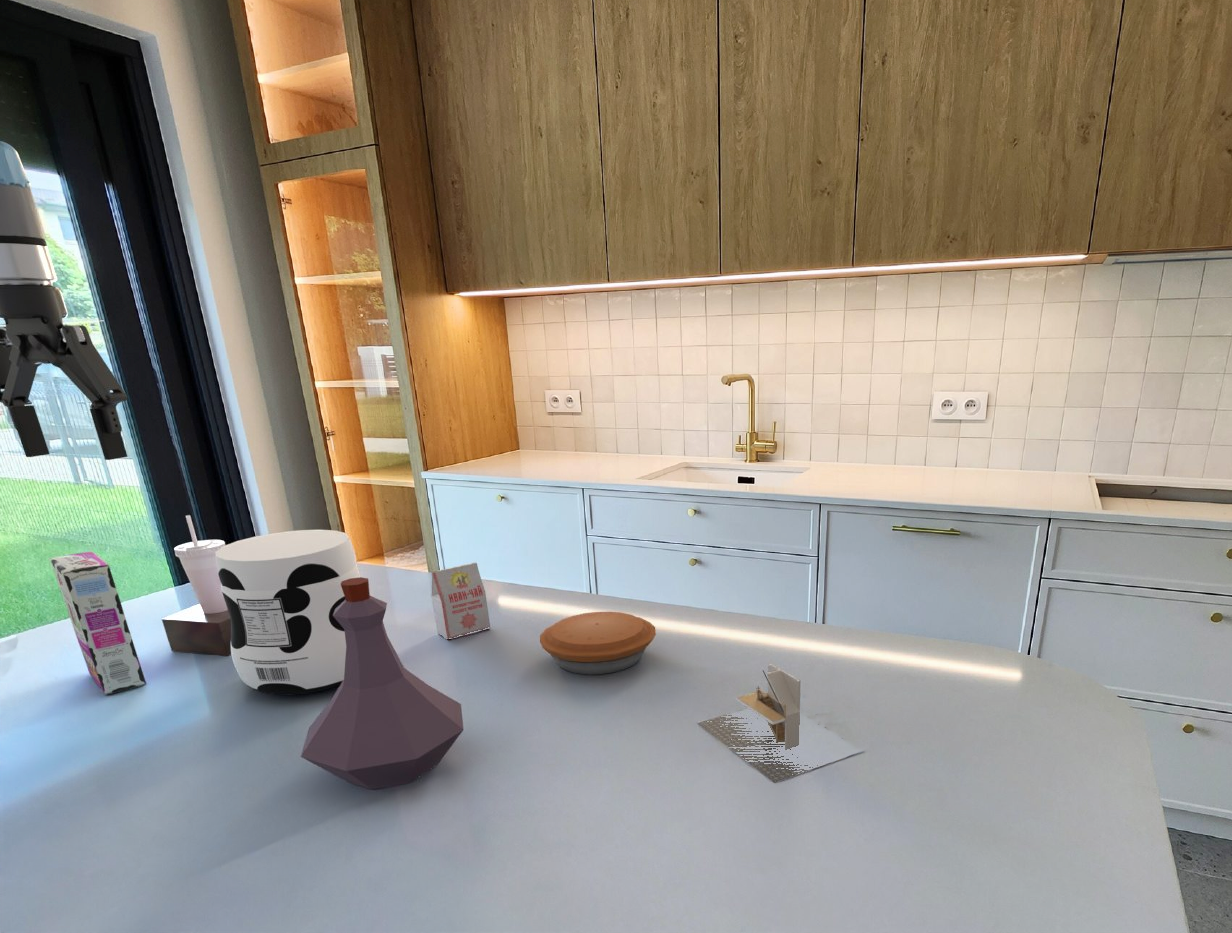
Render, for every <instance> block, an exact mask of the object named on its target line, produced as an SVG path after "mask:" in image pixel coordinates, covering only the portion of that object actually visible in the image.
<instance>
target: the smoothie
mask: <svg viewBox="0 0 1232 933" xmlns="http://www.w3.org/2000/svg"><path fill="white" fill-rule="evenodd" d="M185 519H186V523H187V526H188V529H189V533H190V536H191V540H192V541H189V542H185V543H182V544H179V545H177V546H175V547H174V548H173V550H174V555H175V557H177V558H178V559H179V560H180V564H181V565H182V568H183V570H184V572H185V574H186V576H187V579H188V581H189V584H190V586H191V588H192V590H193V592H194V594H195V596H196V599H197V601H198V603H199V604H200V606H201V608H202V610H203V612H204V613H208V614H211V613H219V612H224V611H227V610H228V609H227V606H226V603H225V600H224V597H223V593H222V590H221V582H220V579H219V575H218V569H217V563H216V551H217V550H219V549H220V548H222V547H223V546H225V545H226V542H225V541H224V540H221V539H203V540H198V538H197V536H196V530H195V527H194V523H193V521H192V517H191V515H190V514H187V515H185Z"/></svg>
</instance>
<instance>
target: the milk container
mask: <svg viewBox="0 0 1232 933" xmlns="http://www.w3.org/2000/svg"><path fill="white" fill-rule="evenodd" d="M216 563H217V569H218V575H219V579H220V582H221V590H222V593H223V597H224V600H225V603H226V606H227V609H228V612H229V616H230V621H231V659H232V662H233V665H234V667H235V668H234V669H235V670H236V672H237V674H238V675H239V678H240V679H241V681H242V682H243V683H244V684H245V685H246V686H247V687H249V688H250V689H252V690H254V691H256V692H259V693H262V694H268V695H270V694H271V695H275V696H288V695H303V694H304V695H305V694H310V693H315V692H322V691H325V690H328V689H332V688H336V687H339V686H340V685H341V683H342V681H343V680H344V672H345V658H346V639H345V631H344V628H343V627H342V626H341V625H340V624H339V622H338V621H337V620H336V619H335V618H334V617H333V614H334V611H335V609H336V608H337V607H338V606H339V605H340V604H341V603H342V602H343V601H345V600H346V599H345V596H344V593H343V590H342V587H341V582H342V581H344V580H347V579H351V578H360V571H359V567H358V566H357V564H358V563H357V556H356V552H355V549H354V546H353V543H352V540H351V538H350V536H349V535H348V534H347V532H343V531H340V530H335V529H333V530H332V529H299V530H289V531H288V530H287V531H280V532H273V533H266V534H262V535H256V536H251V537H248V538H244V539H240V540H237V541H233V542H231V543H228V544H225V546H223V547H222V548H220V549H219V550H217V551H216Z"/></svg>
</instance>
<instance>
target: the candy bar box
mask: <svg viewBox="0 0 1232 933" xmlns="http://www.w3.org/2000/svg"><path fill="white" fill-rule="evenodd" d="M49 561H50V564H51V566H52V569H53V573H54V575H55V577H56V580H57V584H58V587H59V590H60V593H61V596H62V599H63V601H64V604H65V608H66V611H67V613H68V616H69V619H70V621H71V625H72V628H73V630H74V633H75V636H76V637H75V638H76V639H77V642H78V645H79V648H80V651H81V654H82V657H83V660H84V662H85V665H86V667H87V671H88V673H89V675H90V677H92V679H93V680H94V682H95V684H97V686H98V687H99V689H100V690H101V692H102V694H103V695H104V696H109V695H112V694H116V693H120V692H125V691H128V690H132V689H136V688H139V687H142V686H146V685H147V681H146V678H145V675H144V672H143V669H142V666H141V663H140V662H141V661H140V659H139V657H138V654H137V650H136V647H135V644H134V641H133V640H134V639H133V637H132V634H131V631H130V628H129V625H128V621H127V617H126V614H125V612H124V609H123V605H122V601H121V599H120V596H119V593H118V590H117V586H116V583H115V580H114V577H113V574H112V571H111V567H110V565H109V564H108V563H107V562H106V561H104V560H103V559H102V558H100V556H98V555H97V554H95V552H93V551H85V552H78V553H72V554H64V555H60V556H54V557H50V558H49Z"/></svg>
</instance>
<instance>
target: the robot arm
mask: <svg viewBox="0 0 1232 933" xmlns="http://www.w3.org/2000/svg"><path fill="white" fill-rule="evenodd" d="M31 186H32V184H31V181H29V179H28V176H27V173H26V171H25V167H24V166H23V163H22V160H21V158H20V154H19V153H18V151H17V150H16V149H15V148H14V147H13V146H12V145H11V144H9V143H7V142H5V141H1V140H0V319H1V320H2V319H3V320H4V324H5V326H0V403H1V404H2V405H3V406H4V407H6V408H7V410H8V412H9V415H10V418H11V421H12V424H13V428H14V429H15V430H16V431H17V434H18V437H19V441H20V443H21V446H22V449H23V453H24V455H25V457H26V458H34V457H41V456H46V455H50V451H49V448H48V444H47V441H46V438H45V436H44V433H43V429H42V427H41V424H40V423H41V422H40V421H39V418H38V414H37V411H36V408H35V405H33V402H32V401H31V400H30V399H29V397H30V395H31V391H32V388H33V384H34V381H35V377H36V374H37V370H38V369H39V368H38V367H40V366H42V364H43V365H52V366H53V367H56V368H58V369H60V371H62V373H63V374H64V375H65V376H66V377H67V378H68V379H69V380H70V381H71V382H72V383H73V385H74V386H76V388H78V390H79V391H80V392H81V393H82V394H83V396H85V397H86V399H87V400H89V401H90V403H91V404H90V406H89V411H90V415H91V419H92V421H93V426H94V428H95V432H96V436H97V438H98V441H99V444H100V448H101V451H102V454H103V457H104V460H105V461H112V460H117V459H123V458H128V453H127V450H126V446H125V443H124V440H123V436H122V431H123V427H122V424H121V420H120V418H119V417H120V416H119V414H118V410H117V406H118V404H120V403H122V402H126V401H127V400H128V396H127V393H126V392H125V391H124V389H123V387H122V386H121V385H120V383H119V381H118V380H117V379H116V377H115V375H114V374H113V372H112V370H111V369H110V368H109V366H108V364H107V363H106V361H105V360H104V359H103V357H102V355H101V354H100V352H99V351H98V350H97V348H96V346H95V345H94V343H93V341H92V338H91V335H90V333H89V330H88V328H87V326H85V325H83V324H81V325H80V324H79V325H78V324H77V325H73V324H72V325H71V324H70V325H69V324H68V325H65V323H64V321H63V319H65V318H67V317H68V315H69V314H68V309H67V307H66V303H65V299H64V297H63V296H64V295H63V293H62V290H61V289H59V287H58V286H54V285H53V283H56V281H57V280H58V277H57V274H56V271H55V268H54V265H53V262H52V257H51V255H50V252H49V248H48V245H47V241H46V237H45V234H44V230H43V226H42V223H41V219H40V217H39V213H38V209H37V205H36V203H35V199H34V196H33V193H32V189H31ZM111 391H112V392H111Z"/></svg>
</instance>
